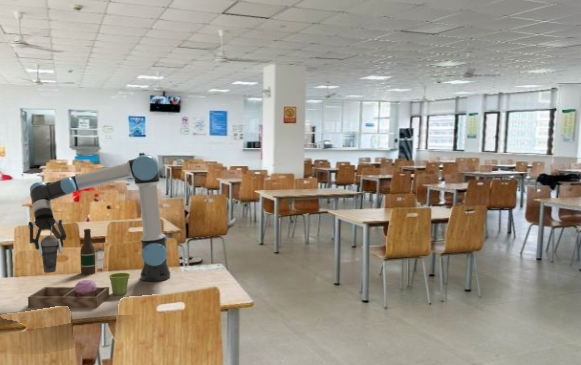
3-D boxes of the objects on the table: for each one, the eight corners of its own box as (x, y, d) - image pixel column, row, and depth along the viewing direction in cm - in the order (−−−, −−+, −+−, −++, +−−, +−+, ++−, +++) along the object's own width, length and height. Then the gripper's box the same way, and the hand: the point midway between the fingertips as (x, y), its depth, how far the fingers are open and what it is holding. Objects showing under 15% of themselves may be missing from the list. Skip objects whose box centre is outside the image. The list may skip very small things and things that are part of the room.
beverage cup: (44, 269, 217) (43, 224, 216) (61, 269, 218) (60, 224, 216) (37, 273, 210) (36, 227, 209) (55, 273, 211) (54, 227, 209)
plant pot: (108, 291, 232) (108, 273, 231) (129, 289, 235) (129, 271, 235) (109, 297, 223) (108, 278, 223) (130, 295, 227) (130, 276, 226)
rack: (109, 296, 224) (109, 287, 223) (97, 307, 209) (96, 297, 208) (45, 296, 223) (44, 286, 223) (28, 307, 208) (27, 297, 208)
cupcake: (70, 303, 214) (70, 281, 213) (85, 298, 222) (85, 276, 221) (86, 306, 210) (86, 283, 210) (101, 300, 219) (100, 278, 218)
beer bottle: (98, 273, 264) (97, 229, 262) (84, 276, 258) (83, 231, 256) (92, 270, 269) (91, 227, 267) (77, 273, 263) (76, 229, 261)
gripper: (65, 215, 231) (74, 255, 219) (17, 218, 219) (24, 261, 207) (67, 205, 226) (77, 246, 214) (18, 208, 214) (25, 251, 202)
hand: (51, 253), depth 211 cm, fingers closed on beverage cup, 7 cm apart
